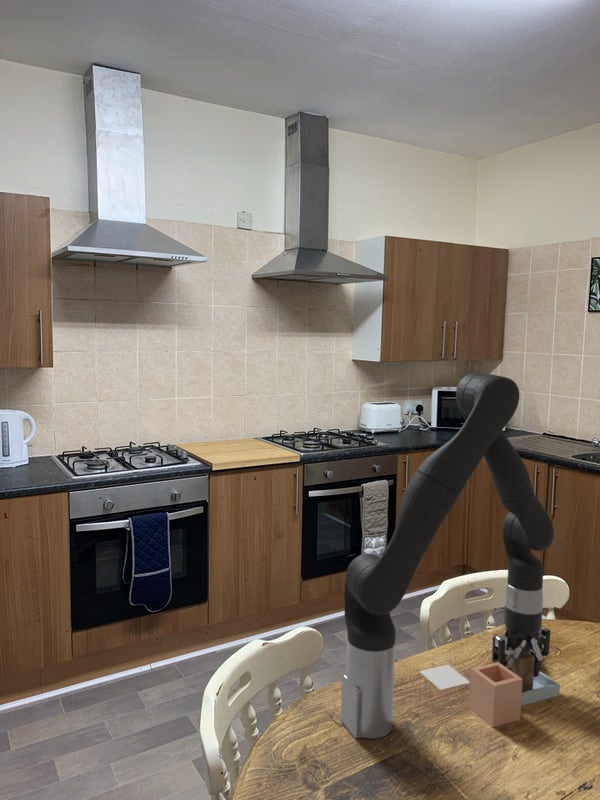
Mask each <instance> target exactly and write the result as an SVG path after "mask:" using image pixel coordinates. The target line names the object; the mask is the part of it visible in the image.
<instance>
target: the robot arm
mask: <svg viewBox="0 0 600 800" xmlns="http://www.w3.org/2000/svg"><path fill="white" fill-rule="evenodd" d="M455 398H456V399H455V400H456V403H457V405H458V409H459V410H460V412H461V413H460V414H462V416H463V417H464V420H465V421H464V424H463V425H462V426H461V428H460V429H459V430H458V431H457V433H456V434H455V435H454V436H452V438H451V439H450V440H448V441H446V443H444V444H443V445H441V446H440V447H439V448H438V449H436V450H435V451H434V452H432V453H431V454H430V455H428V456H427V457H426V458H425V459H424V460H423V461H422V462H421V463H420V465H419V466H418V468H417V469H416V471H415V472H414V474H413V476H412V477H411V479H410V480H409V482H408V484H407V486H406V487H405V490H404V491H403V494H402V497H401V500H400V503H399V504H400V505H399V508H398V513H397V520H396V524H395V527H394V531H393V534H392V536H391V538H390V541H389V543H388V545H387V546H386V547H385V549H384V551H383V553H382V554H381V556H379V555H376V554H374V553H363V554H360V555H358V556H356V557H355V558H354V559H353V560H352V561H350V563H349V564H348V566H347V569H346V571H345V576H344V587H343V588H344V589H343V591H344V592H343V594H344V597H343V599H344V600H343V601H344V605H343V606H344V622H345V625H346V631H347V639H346V642H347V644H346V645H347V646H346V670H345V671H346V673H344V674H342V676H341V697H340V699H341V703H340V704H341V705H340V706H341V708H340V722H342V724H343V725H344V726H345V728H346V729H347V730H348V731H349V733H350V734H351V735H352V736H353V738H354V739H359V738H364V739H371V740H372V739H373V740H375V739H379V738H384V737H385V736H387V735H389V733H391V731H392V729H393V717H394V714H393V713H394V689H395V687H394V686H395V665H396V664H395V661H396V660H395V659H396V637H397V636H396V634H397V633H396V626H395V623H394V622H393V619H392V616H391V613H390V612H392V611H393V610H394V609H396V608H397V607H398V605H399V604H400V603H401V601H402V600H403V598H404V596H405V594H406V593H407V590H408V589H409V586H410V584H411V582H412V580H413V577H414V575H415V573H416V571H417V568H418V567H419V565H420V563H421V562H422V561H421V560H422V559H423V556H424V555H425V553H426V551H427V549H428V548H429V546H430V545H431V543H432V541H433V539H434V538H435V536H436V534H437V532H438V531H439V530H440V528H441V526H442V524H443V522H444V521H445V519H446V518H447V517H448V515H449V513H450V512H451V510H452V508H453V506H454V505H455V503H456V502H457V500H458V498H459V497H460V495H461V493H462V491H463V489H464V488H465V486H466V485H467V482H468V481H469V479H470V478H471V476H472V475H473V473H474V471H475V469H477V466H478V465H479V463H480V462H481V460H482V459H483V458H484V460H485V462H486V464H487V467H488V469H489V472H490V474H491V477H492V480H493V484H494V487H495V489H496V490H495V491H496V492H497V495H498V498H499V501H500V503H501V506H502V507H503V509H505V510H506V511H507V512H508V513H507V514H506V515H505V517H504V519H503V521H502V525H501V535H502V541H503V545H504V551H505V555H506V559H507V563H508V564H507V565H508V566H507V583H506V584H507V585H506V588H505V595H504V596H505V597H504V614H503V615H504V617H503V623H504V625H505V629H506V630H505V632H504V634H503V635H504V636H502V635H501V636H499V635H498V634H494V635H493V636H492V649H491V650H492V651H491V652H492V653H491V654H492V655H491V661H492V663H495V662H499V663H500V664H502V665H503V666H505V667H506V668H508V669H509V670H510V671H511V668H510V667H511V665H512V663H513V661H514V660H516V659H517V658H518V656H519V654H521V653H523V652H529V653H530V654H532V655H533V656H535V660H534V677H538V675H539V672H541V661H542V660H543V657H548V656H549V655H550V642H551V630H550V629H549V628H547V627H545V626H543V624H542V623H543V622H542V621H543V605H544V593H543V583H544V564H543V562H542V560H541V559H539V558H538V557H537V556H536V555H534V554H533V552H532V551H531V550H533V551H536V552H542V551H545V550H547V549H548V548H549V547H551V545H552V544H553V542H554V538H555V529H554V528H555V527H554V524H553V522H552V519H551V518H550V517H551V516H550V515H549V514H548V512H547V511H546V509H545V508H544V506H543V504H542V502H540V500H539V499H538V497H537V496H536V494H535V489H534V487H533V483H532V480H531V477H530V474H529V472H528V469H527V466H526V465H525V463H524V461H523V459H522V458H521V455H520V454H519V453H518V451H517V450H516V449H515V447H514V446H513V444H511V442H510V440H509V438H508V437H507V435H506V433H505V432H504V429H505V427H506V426H507V424H509V422H510V420H511V419H512V418H513V416H514V415H515V413H516V410H517V409H518V407H519V402H520V389H519V387H518V385H517V383H516V382H515V381H514V380H513V379H511V378H509V377H506V376H502V375H496V374H491V373H484V372H472V373H468V374H467V375H465V376H464V377H462V378H461V379H460V381H459V383H458V385H457V387H456V392H455ZM509 649H511V650H513V651H514V652H513V653H511V652H509ZM508 655H509V658H508V660H507V661H506V658H507V656H508ZM498 656H499V658H498Z"/></svg>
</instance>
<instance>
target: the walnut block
mask: <svg viewBox="0 0 600 800" xmlns="http://www.w3.org/2000/svg"><path fill="white" fill-rule="evenodd" d="M509 652H511V653H513V652H514V651H513V650H509ZM508 658H509V655H508V656H507V658H506V661H507V660H508ZM534 660H535V656H533V655H532V654H530V653H528V652H523V653H521V654H519V656H518V658H517V659H516V660H514V661H513V663H512V665H511V667H510V668H511V671H512V672H513V673H515V674H516V675H518V676H519V677H520V678H522V679H523V681H522V692H526V691H530V690H533V677H534Z"/></svg>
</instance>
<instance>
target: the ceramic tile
mask: <svg viewBox="0 0 600 800" xmlns="http://www.w3.org/2000/svg"><path fill="white" fill-rule="evenodd" d="M418 672H420V674H421V675H422V676H423V677H424V678H426V679H427V680H428V681H429V682H431V684H433V685H434V686H435V687H436V688H437V689H439V690H440V691H442V690H446V689H450V688H454V687H457V686H458V687H459V686H463V685H467V684H470V680H468V679H467V678H466V677H465V676H463V675H462V674H461V673H460V672H459V671H457V670H455V668H453V666H451V665H450V664H445V665H440V666H437V667H431V668H428V669H423V670H419V671H418Z"/></svg>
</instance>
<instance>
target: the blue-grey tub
mask: <svg viewBox="0 0 600 800" xmlns="http://www.w3.org/2000/svg"><path fill="white" fill-rule="evenodd" d="M560 687H561V684H560V683H558V682H557V681H556V680H554V679H552V678H551V677H549V676H548V675H546V674H545V673H543V672H542V671H540V672H539V675H538V677H533V690H530V691H526V692H522V699H521V707H523V706H526V705H529V704H530V705H531V704H534V703H537V702H541V701H544V700H547V699H552V698H554V697H558V696H560V691H561V688H560Z"/></svg>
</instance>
